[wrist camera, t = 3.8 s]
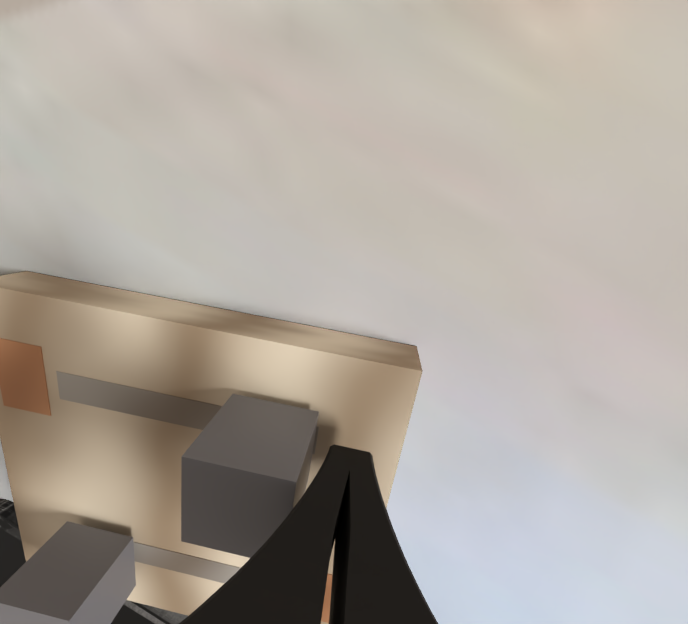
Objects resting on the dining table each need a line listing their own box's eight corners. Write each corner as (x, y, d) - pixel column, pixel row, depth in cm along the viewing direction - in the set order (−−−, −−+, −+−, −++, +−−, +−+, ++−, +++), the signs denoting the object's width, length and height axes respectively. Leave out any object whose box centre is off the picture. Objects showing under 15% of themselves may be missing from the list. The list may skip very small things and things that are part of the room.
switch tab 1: (133, 536, 14) (68, 620, 11) (135, 585, 15) (77, 674, 12) (67, 521, 14) (-13, 599, 11) (74, 569, 15) (2, 653, 12)
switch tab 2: (318, 411, 11) (296, 482, 8) (307, 481, 12) (284, 565, 9) (233, 393, 11) (181, 456, 8) (228, 463, 12) (181, 541, 9)
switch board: (416, 346, 13) (422, 371, 11) (351, 606, 17) (347, 656, 15) (26, 271, 13) (-33, 281, 12) (65, 536, 18) (27, 575, 16)
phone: (-19, 503, 17) (216, 654, 19) (5, 485, 18) (225, 630, 20) (-59, 576, 19) (153, 706, 21) (-35, 557, 21) (164, 681, 22)
